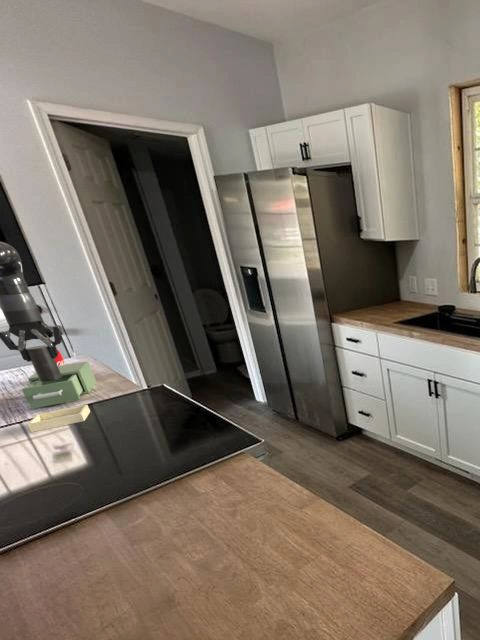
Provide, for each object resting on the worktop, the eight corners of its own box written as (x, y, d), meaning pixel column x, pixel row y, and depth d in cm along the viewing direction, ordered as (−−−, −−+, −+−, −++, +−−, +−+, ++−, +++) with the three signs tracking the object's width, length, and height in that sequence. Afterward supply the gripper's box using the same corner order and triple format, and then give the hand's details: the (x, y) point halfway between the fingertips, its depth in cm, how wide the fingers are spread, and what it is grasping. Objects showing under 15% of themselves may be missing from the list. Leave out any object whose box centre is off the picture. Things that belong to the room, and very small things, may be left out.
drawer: (76, 403, 135) (68, 384, 133) (26, 413, 129) (16, 393, 127) (87, 388, 149) (80, 371, 147) (43, 396, 143) (34, 378, 140)
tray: (31, 432, 118) (27, 424, 117) (40, 421, 125) (36, 414, 124) (84, 421, 124) (81, 413, 123) (90, 411, 131) (87, 404, 130)
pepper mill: (37, 382, 135) (23, 350, 131) (42, 378, 139) (28, 347, 135) (60, 379, 137) (46, 347, 134) (64, 375, 141) (50, 344, 138)
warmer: (89, 393, 147) (79, 370, 144) (39, 402, 140) (27, 378, 137) (96, 382, 158) (87, 361, 155) (50, 390, 152) (40, 368, 148)
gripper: (55, 304, 137) (75, 353, 142) (-10, 309, 129) (14, 361, 135) (48, 306, 131) (70, 357, 137) (-20, 312, 123) (6, 366, 129)
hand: (42, 359), depth 136 cm, fingers closed on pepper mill, 5 cm apart
